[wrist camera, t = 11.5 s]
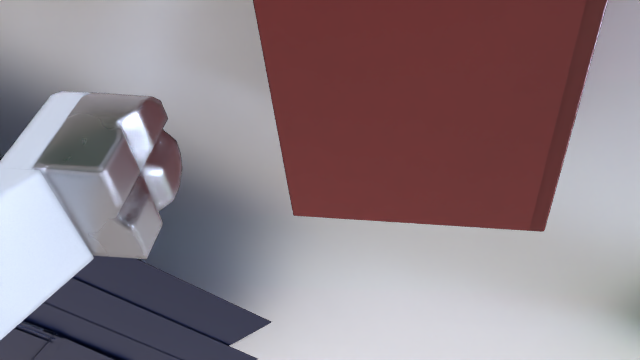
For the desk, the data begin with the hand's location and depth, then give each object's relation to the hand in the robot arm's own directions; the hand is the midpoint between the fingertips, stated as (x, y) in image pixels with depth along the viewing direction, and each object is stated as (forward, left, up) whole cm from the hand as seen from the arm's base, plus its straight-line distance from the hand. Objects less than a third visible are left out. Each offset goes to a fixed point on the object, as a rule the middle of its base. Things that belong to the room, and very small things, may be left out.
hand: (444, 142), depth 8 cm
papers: (+22, +16, -7) cm, 28 cm away
